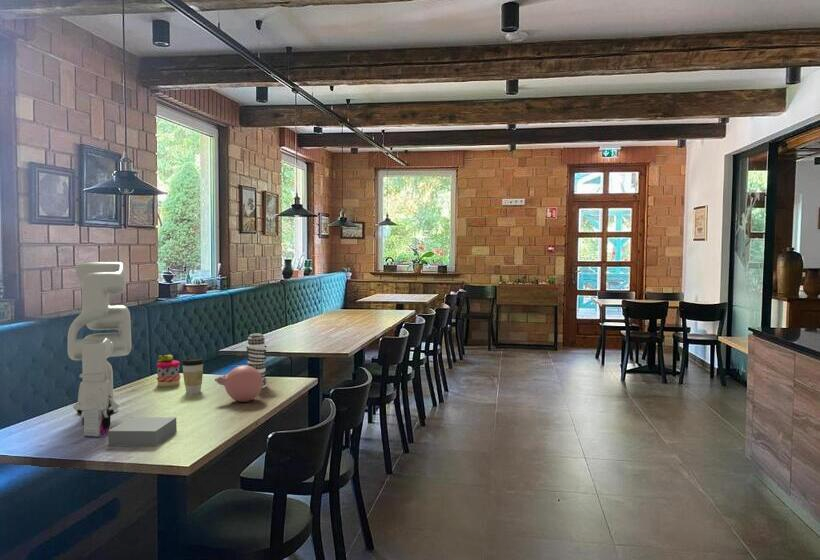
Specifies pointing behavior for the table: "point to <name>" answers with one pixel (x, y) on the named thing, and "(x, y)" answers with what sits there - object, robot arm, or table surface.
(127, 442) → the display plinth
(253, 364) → the striped thermos bottle
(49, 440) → the table surface
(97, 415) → the supplement box
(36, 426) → the table surface
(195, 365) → the coffee cup
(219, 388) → the table surface
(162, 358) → the cake
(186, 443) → the table surface
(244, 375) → the balloon
